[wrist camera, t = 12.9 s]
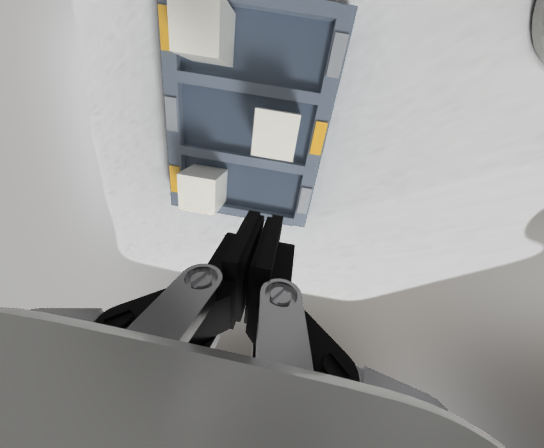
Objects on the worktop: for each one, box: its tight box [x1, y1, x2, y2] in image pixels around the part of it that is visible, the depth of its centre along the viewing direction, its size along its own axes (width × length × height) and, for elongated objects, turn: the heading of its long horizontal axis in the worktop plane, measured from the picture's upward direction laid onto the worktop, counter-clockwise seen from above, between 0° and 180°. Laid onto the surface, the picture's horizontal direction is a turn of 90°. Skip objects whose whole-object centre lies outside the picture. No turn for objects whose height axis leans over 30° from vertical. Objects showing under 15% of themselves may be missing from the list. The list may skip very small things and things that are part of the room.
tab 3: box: [251, 108, 301, 162], centre depth 22 cm, size 4×4×4 cm
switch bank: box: [157, 0, 358, 227], centre depth 25 cm, size 17×21×3 cm
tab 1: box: [167, 0, 236, 68], centre depth 19 cm, size 4×4×4 cm
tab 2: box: [177, 164, 228, 216], centre depth 26 cm, size 4×4×4 cm
